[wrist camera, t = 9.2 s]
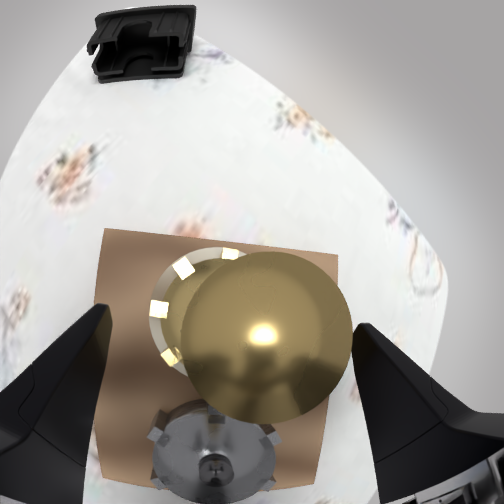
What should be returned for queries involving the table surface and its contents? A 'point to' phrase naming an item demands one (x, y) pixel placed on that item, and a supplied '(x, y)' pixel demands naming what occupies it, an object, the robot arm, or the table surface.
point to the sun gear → (211, 454)
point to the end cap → (142, 42)
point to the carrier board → (156, 368)
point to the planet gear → (256, 333)
